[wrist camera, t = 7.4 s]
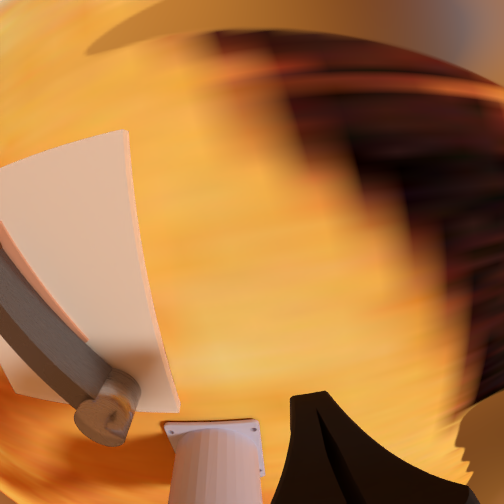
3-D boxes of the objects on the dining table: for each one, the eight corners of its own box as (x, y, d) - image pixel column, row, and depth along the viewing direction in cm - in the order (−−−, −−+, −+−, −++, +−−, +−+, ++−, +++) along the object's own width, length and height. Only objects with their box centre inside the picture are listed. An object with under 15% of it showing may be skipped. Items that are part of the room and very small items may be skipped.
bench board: (180, 404, 21) (178, 414, 20) (20, 387, 20) (14, 394, 19) (128, 131, 16) (121, 128, 14) (-40, 189, 15) (-49, 190, 14)
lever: (150, 391, 19) (135, 436, 14) (125, 409, 19) (108, 452, 15) (-9, 222, 15) (-51, 236, 10) (-23, 254, 15) (-60, 272, 11)
